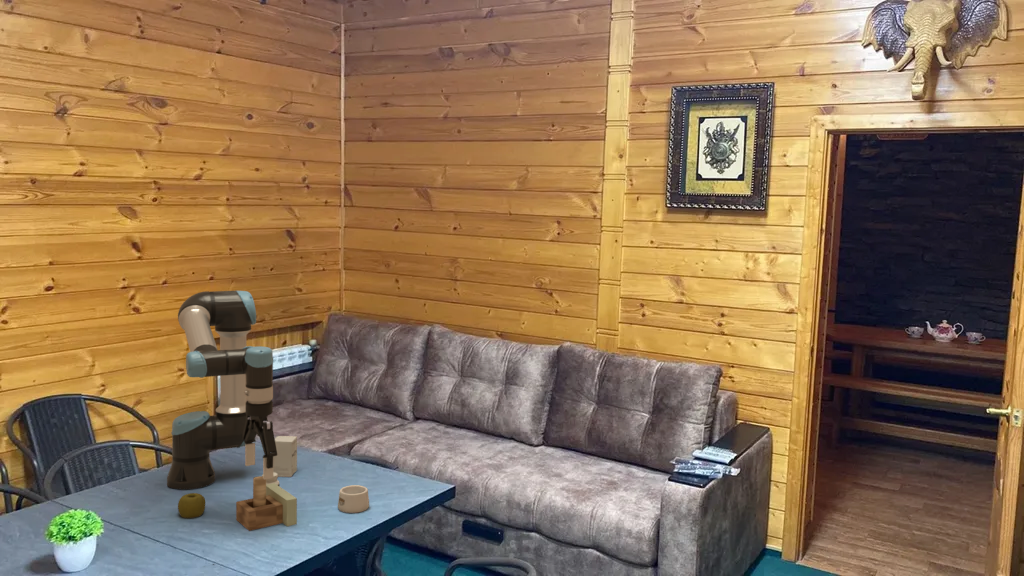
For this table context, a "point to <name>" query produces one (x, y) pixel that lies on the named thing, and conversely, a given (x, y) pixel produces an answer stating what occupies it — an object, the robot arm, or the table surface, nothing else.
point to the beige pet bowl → (353, 499)
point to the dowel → (259, 492)
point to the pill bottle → (273, 479)
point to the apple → (191, 505)
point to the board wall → (284, 503)
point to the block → (259, 513)
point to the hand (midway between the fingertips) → (259, 471)
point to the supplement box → (285, 456)
